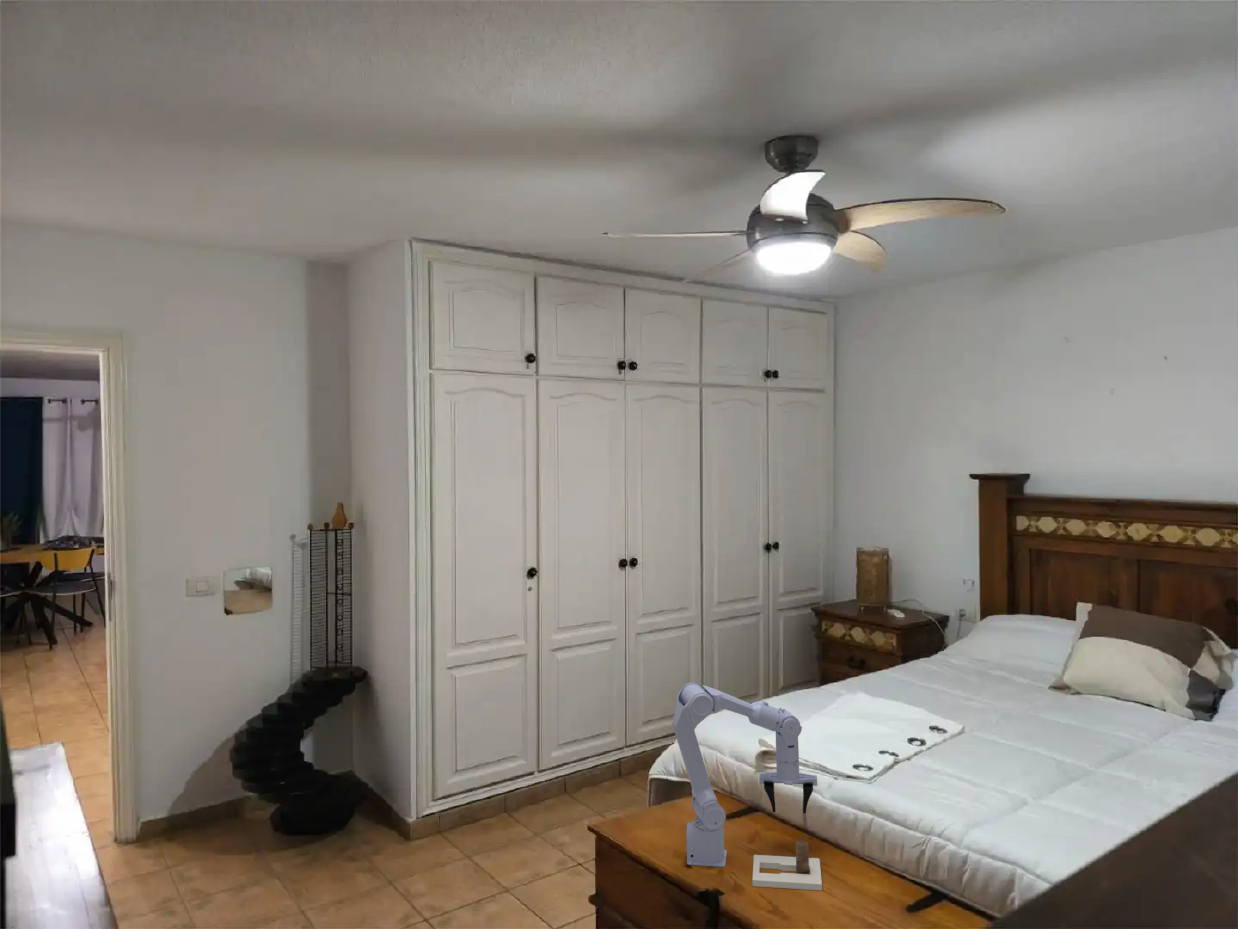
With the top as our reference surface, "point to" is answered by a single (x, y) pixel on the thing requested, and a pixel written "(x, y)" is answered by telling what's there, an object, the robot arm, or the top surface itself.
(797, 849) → the peg
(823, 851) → the top surface
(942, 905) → the top surface
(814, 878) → the keyhole plate
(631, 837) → the top surface
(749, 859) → the top surface
